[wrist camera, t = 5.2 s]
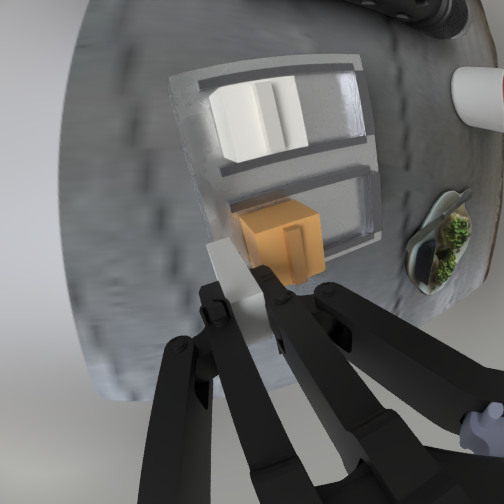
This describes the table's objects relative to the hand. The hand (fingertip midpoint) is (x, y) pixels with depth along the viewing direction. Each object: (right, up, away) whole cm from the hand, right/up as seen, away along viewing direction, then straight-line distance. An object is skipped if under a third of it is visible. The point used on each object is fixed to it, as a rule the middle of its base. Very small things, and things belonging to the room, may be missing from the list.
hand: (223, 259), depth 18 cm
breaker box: (+3, +9, +8) cm, 13 cm away
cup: (+35, +25, +12) cm, 45 cm away
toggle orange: (+3, +2, +2) cm, 4 cm away
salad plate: (+32, +2, +21) cm, 39 cm away
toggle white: (+2, +9, -2) cm, 9 cm away
